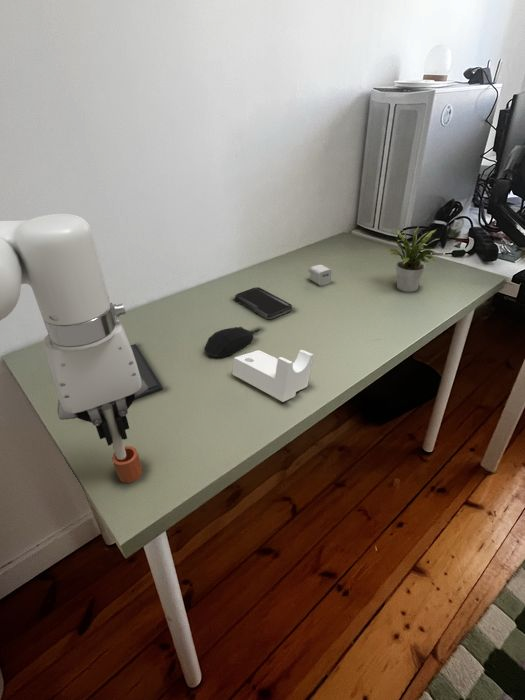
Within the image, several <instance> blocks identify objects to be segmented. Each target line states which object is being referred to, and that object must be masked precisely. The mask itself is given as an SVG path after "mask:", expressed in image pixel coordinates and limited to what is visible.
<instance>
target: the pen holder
mask: <svg viewBox="0 0 525 700" xmlns="http://www.w3.org/2000/svg"><path fill="white" fill-rule="evenodd" d="M124 448H125V452H126V457H125V458H124V459H122V460H118V459H117V457H116V454H115V452H114V453H113V454H112V457H111V459H112V463H113V466H114V468H115V472H116V475H117V478H118V480H119V481H120V482H122V483H126V484H129V483H133V482H135V481H138V479H139V478H141V477H142V475H143V465H142V463H141V458H140V456H139V452H138V450H137V448H135V447H134V446H133V445H132V446H131V445H126V446H125V445H124Z"/></svg>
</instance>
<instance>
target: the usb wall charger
mask: <svg viewBox="0 0 525 700" xmlns="http://www.w3.org/2000/svg"><path fill="white" fill-rule="evenodd" d="M307 272H308V273H310V274H309V280H310V281H312V282H314V283H315V284H317V285H319V286H321V287H322V286H325V285H327V284H330V283H331V282H332V272H333V271H332V269H331V268H329V267H327V266H325V265H323V264H320V263H319V264H317V265H313V266H311V267H310V269H309V268H307Z"/></svg>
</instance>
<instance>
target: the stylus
mask: <svg viewBox="0 0 525 700" xmlns="http://www.w3.org/2000/svg"><path fill="white" fill-rule="evenodd" d="M101 409H102V412H103V415H104V418H105V420H106V422H107V425H108V428H109V431H110V434H111V438H112V441H113V443H112V447H113V451H114V453H115V454H116V457H117V459H118V460H122V459H124V458H125V457H126V452H125V448H124V447H125V445H124V441H123V439H122V438H121V436H120V433H119V429H118V426H117V422H116V419H115V416H114V415H115V414H114V411H113V407H112V405H111V404H105V405H103V406H102V408H101Z"/></svg>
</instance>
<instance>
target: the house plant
mask: <svg viewBox="0 0 525 700" xmlns="http://www.w3.org/2000/svg"><path fill="white" fill-rule="evenodd" d="M419 227H420V225H418V226H417V227H416V228H415V229H414V230H413V235H412V242H411V243H410V242H409V241H408V236H407V233H406V232H405V231H404V230H403V229H401V228H400V230H401V231H402V232H403V234H404V235H403V234H402V233H401V231H399V230H398V229H396V230H395V233H396V234H397V235H398V237H399V239H398V238H397V237H396V235H395V234H393V233H392V232H390V231H387V230H384V232H385V233H389V234H391V235H393V236H394V237H395V238H396V239H397V242H396V244H397V245H398V246H399V249H400V250H401V252H400V251H398V249H394V248H391V249H389V250H388V252H387V253H391V255H396V258H397V259H398V256H399V258H400V259H401V260H399V261H398V262H396V265H395V266H396V269H395V270H396V287H397V289H398V290H400V291H402V292H407V293H410V292H415V291H418V288H419V286H420V284H421V280H422V278H423V274H424V271H425V269H426V264H427V265H429V259H430V260H431V261H433V263H434V264H436V259H435V258H434V256H431V255H430V254H436V255H438V253H437V251H435V250H431V247H425V246H428V245H430V244H431V243H433V242H434V241H437V240H439V238H435V239H433V240H431V241H430V242H428V241H429V240H430V239H431V238H432V235H433V234H434V233H435V232H436V231H437V229H438V228H436V229H434V230H433V229H432V230H431V231H427V232H426V233H424V234H422V235H421V236H420V237H419V238H418V230H419ZM419 241H420V242H419ZM401 242H402V244H401ZM418 242H419V243H418ZM427 242H428V243H427ZM426 243H427V244H426ZM394 244H395V242H393V245H394ZM396 258H395V259H396ZM425 263H426V264H425Z"/></svg>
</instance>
